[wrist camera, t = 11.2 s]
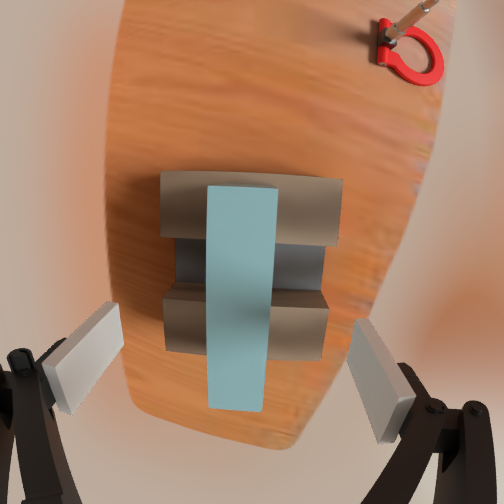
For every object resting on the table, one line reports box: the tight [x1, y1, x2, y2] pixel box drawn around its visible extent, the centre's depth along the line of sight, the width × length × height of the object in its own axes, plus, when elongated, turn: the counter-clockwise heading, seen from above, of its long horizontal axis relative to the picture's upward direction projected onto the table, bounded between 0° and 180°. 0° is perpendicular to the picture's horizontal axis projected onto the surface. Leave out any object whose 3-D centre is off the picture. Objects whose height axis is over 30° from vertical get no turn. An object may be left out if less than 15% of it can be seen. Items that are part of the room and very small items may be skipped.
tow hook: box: [377, 0, 444, 86], centre depth 21 cm, size 8×13×9 cm
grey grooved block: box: [160, 171, 343, 361], centre depth 31 cm, size 18×16×6 cm
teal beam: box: [206, 183, 278, 412], centre depth 23 cm, size 16×4×9 cm, turn 177°
